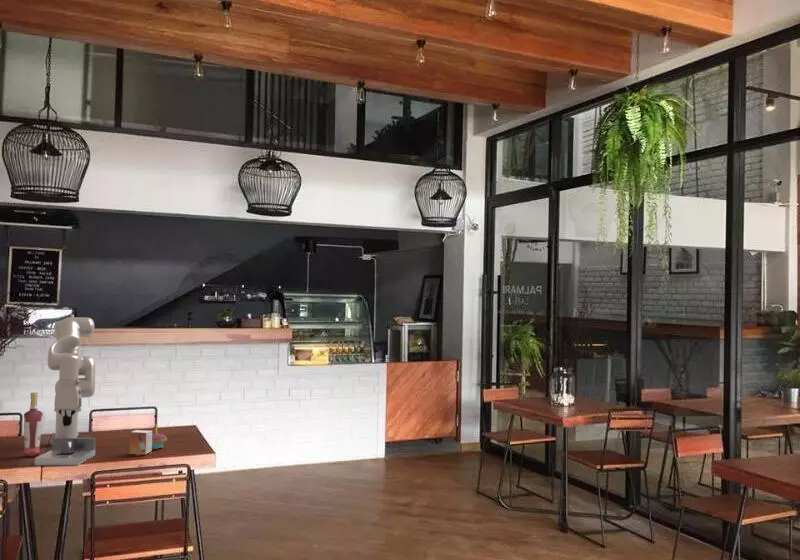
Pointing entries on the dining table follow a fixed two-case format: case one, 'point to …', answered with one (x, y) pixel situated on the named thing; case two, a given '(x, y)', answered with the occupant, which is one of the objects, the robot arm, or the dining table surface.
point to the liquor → (32, 429)
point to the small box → (140, 442)
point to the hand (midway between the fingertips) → (67, 425)
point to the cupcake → (158, 439)
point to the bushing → (66, 448)
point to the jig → (80, 453)
